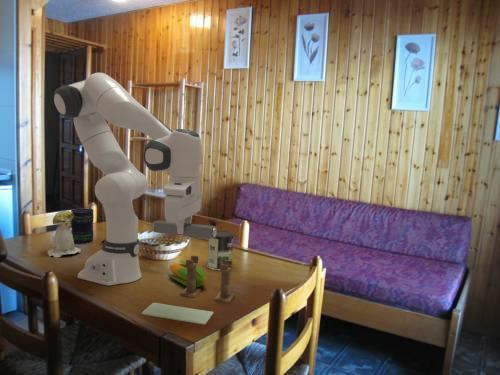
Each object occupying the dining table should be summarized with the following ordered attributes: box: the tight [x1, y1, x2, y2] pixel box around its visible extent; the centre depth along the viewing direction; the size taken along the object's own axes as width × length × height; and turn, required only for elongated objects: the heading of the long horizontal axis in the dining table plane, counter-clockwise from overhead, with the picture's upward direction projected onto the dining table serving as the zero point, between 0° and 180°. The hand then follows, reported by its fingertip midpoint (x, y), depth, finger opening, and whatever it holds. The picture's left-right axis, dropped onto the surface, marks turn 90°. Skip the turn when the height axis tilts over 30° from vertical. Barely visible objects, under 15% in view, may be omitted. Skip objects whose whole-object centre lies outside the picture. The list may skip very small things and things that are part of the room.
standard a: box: [180, 255, 202, 298], centre depth 139 cm, size 5×6×12 cm
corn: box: [168, 260, 207, 288], centre depth 148 cm, size 7×8×20 cm
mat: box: [141, 302, 214, 325], centre depth 123 cm, size 20×8×1 cm, turn 77°
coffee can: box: [206, 229, 235, 271], centre depth 167 cm, size 10×10×14 cm
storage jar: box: [70, 207, 94, 245], centre depth 191 cm, size 10×10×15 cm
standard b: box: [214, 259, 235, 304], centre depth 136 cm, size 5×6×12 cm
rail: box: [151, 220, 218, 239], centre depth 121 cm, size 19×3×3 cm, turn 78°
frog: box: [47, 210, 82, 258], centre depth 172 cm, size 12×13×18 cm
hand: (183, 231), depth 121 cm, fingers closed on rail, 3 cm apart
